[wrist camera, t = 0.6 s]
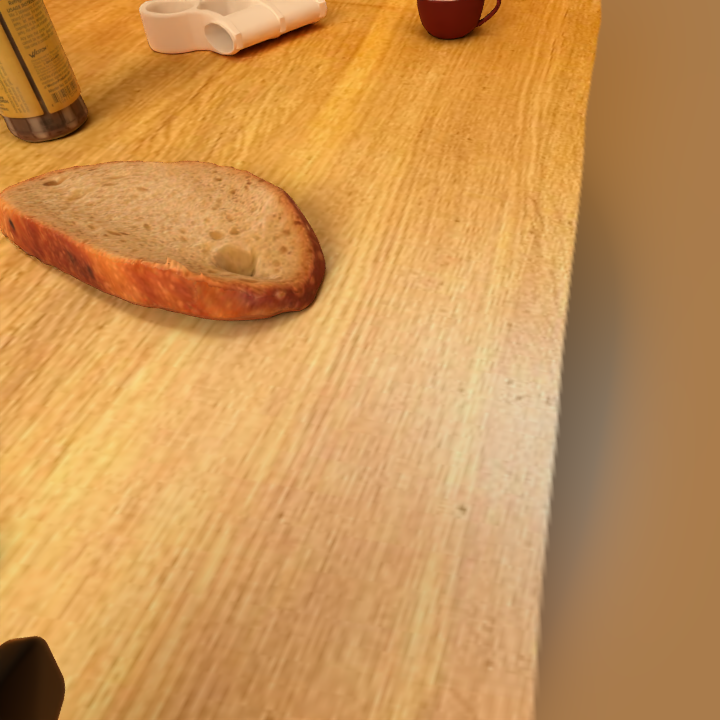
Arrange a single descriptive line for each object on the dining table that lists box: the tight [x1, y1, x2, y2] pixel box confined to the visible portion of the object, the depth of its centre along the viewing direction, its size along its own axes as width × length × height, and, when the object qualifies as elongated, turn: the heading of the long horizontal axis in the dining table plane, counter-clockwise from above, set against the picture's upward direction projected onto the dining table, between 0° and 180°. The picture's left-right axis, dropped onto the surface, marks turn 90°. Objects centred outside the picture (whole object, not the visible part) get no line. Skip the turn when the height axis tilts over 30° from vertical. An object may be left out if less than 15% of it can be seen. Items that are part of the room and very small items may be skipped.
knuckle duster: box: [139, 0, 327, 55], centre depth 59 cm, size 3×18×15 cm
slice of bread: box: [0, 161, 326, 321], centre depth 33 cm, size 18×18×4 cm
